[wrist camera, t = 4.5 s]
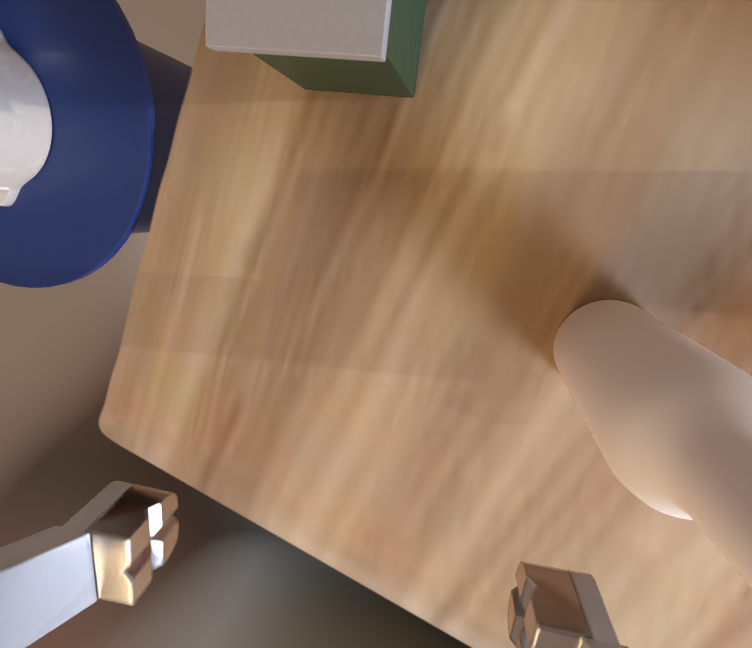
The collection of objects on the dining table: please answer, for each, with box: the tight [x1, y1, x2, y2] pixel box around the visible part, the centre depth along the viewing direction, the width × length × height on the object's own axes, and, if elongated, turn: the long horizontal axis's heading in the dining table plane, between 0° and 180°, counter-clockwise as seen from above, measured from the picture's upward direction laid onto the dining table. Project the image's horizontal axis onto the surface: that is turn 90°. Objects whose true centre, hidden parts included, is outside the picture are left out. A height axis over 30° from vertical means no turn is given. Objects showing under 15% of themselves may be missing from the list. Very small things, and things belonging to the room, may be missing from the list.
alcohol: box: [553, 300, 752, 588], centre depth 27 cm, size 9×9×30 cm
